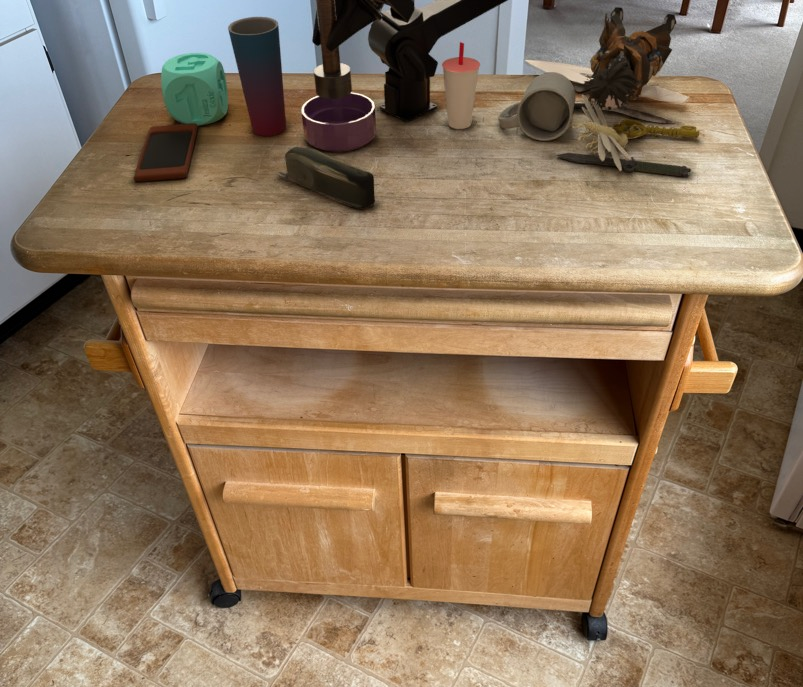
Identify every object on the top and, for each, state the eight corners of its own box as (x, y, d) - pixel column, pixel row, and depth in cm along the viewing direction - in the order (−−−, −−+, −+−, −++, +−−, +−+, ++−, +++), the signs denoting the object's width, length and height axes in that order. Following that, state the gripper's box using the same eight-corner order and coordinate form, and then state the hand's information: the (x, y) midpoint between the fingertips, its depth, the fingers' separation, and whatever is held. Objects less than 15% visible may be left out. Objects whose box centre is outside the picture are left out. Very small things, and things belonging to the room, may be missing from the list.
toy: (550, 115, 108) (566, 84, 104) (605, 126, 110) (621, 96, 107) (580, 179, 98) (599, 147, 95) (639, 189, 101) (659, 158, 98)
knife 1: (677, 110, 111) (678, 105, 110) (514, 68, 124) (514, 63, 124) (694, 96, 114) (695, 91, 114) (533, 56, 128) (533, 51, 127)
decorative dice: (170, 127, 113) (157, 75, 108) (179, 103, 119) (167, 53, 114) (223, 125, 114) (213, 72, 108) (230, 101, 119) (221, 51, 114)
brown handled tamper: (355, 84, 106) (347, -14, 97) (347, 99, 102) (339, -1, 94) (320, 82, 107) (310, -15, 98) (312, 98, 103) (300, -1, 94)
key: (700, 123, 107) (699, 139, 103) (698, 131, 108) (697, 148, 104) (614, 115, 110) (611, 131, 106) (613, 124, 110) (609, 139, 107)
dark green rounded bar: (377, 169, 93) (285, 136, 100) (363, 180, 92) (269, 146, 98) (378, 204, 97) (289, 170, 103) (364, 215, 95) (274, 180, 101)
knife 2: (672, 136, 109) (676, 120, 112) (674, 127, 108) (678, 111, 111) (546, 114, 114) (553, 99, 117) (547, 105, 113) (554, 91, 116)
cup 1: (284, 140, 110) (268, 35, 100) (239, 137, 111) (220, 33, 101) (298, 119, 115) (284, 17, 104) (255, 116, 116) (238, 15, 106)
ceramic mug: (573, 117, 112) (579, 66, 107) (568, 143, 106) (574, 91, 101) (502, 113, 115) (505, 62, 109) (494, 138, 109) (496, 86, 104)
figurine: (685, -2, 115) (670, 57, 93) (663, 83, 124) (645, 156, 101) (612, -11, 118) (580, 44, 96) (595, 73, 126) (563, 141, 104)
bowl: (345, 114, 116) (343, 85, 112) (391, 136, 110) (389, 107, 107) (290, 137, 110) (286, 107, 107) (335, 162, 105) (332, 131, 102)
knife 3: (692, 162, 100) (691, 176, 98) (690, 167, 100) (689, 181, 99) (556, 146, 104) (552, 159, 102) (555, 151, 105) (551, 164, 103)
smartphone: (151, 131, 113) (134, 183, 102) (149, 125, 112) (132, 176, 101) (198, 127, 113) (187, 179, 102) (197, 122, 113) (185, 172, 102)
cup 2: (463, 112, 115) (465, 32, 107) (485, 125, 111) (489, 43, 103) (434, 122, 113) (434, 41, 105) (455, 135, 109) (457, 53, 101)
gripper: (291, -117, 96) (236, -3, 98) (395, -95, 86) (331, 32, 88) (343, -63, 105) (292, 41, 107) (442, -37, 95) (383, 76, 97)
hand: (321, 46), depth 99 cm, fingers closed on brown handled tamper, 2 cm apart
